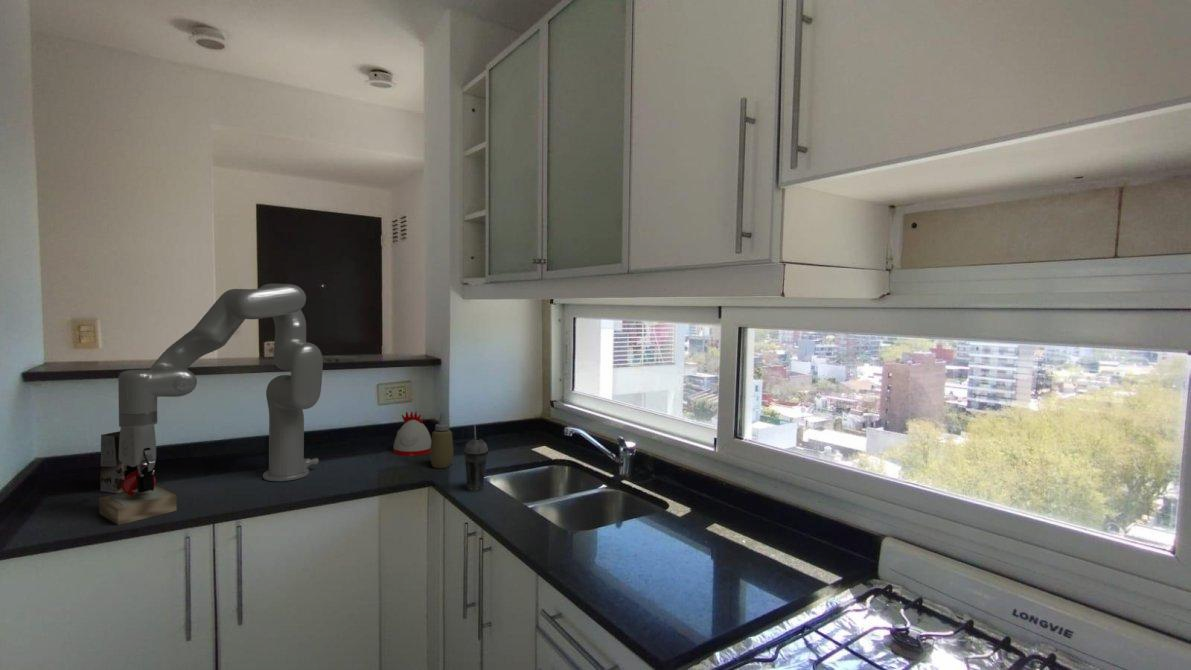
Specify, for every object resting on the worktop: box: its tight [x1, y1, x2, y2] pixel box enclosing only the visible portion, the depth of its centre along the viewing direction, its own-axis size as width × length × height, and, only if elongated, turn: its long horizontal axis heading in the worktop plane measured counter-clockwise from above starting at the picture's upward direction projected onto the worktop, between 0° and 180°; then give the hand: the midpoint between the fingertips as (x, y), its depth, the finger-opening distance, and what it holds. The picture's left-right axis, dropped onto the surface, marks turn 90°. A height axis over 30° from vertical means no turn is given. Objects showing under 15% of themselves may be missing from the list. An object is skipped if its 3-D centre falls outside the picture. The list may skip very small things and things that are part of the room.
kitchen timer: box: [392, 411, 432, 457], centre depth 207 cm, size 14×14×15 cm
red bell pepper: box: [121, 469, 157, 495], centre depth 141 cm, size 8×6×6 cm
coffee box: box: [100, 431, 147, 494], centre depth 157 cm, size 9×6×16 cm
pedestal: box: [98, 485, 178, 526], centre depth 141 cm, size 12×12×4 cm
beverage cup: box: [463, 424, 489, 493], centre depth 167 cm, size 7×7×20 cm
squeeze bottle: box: [428, 413, 455, 469], centre depth 189 cm, size 8×8×18 cm
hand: (139, 487), depth 141 cm, fingers open, 7 cm apart
